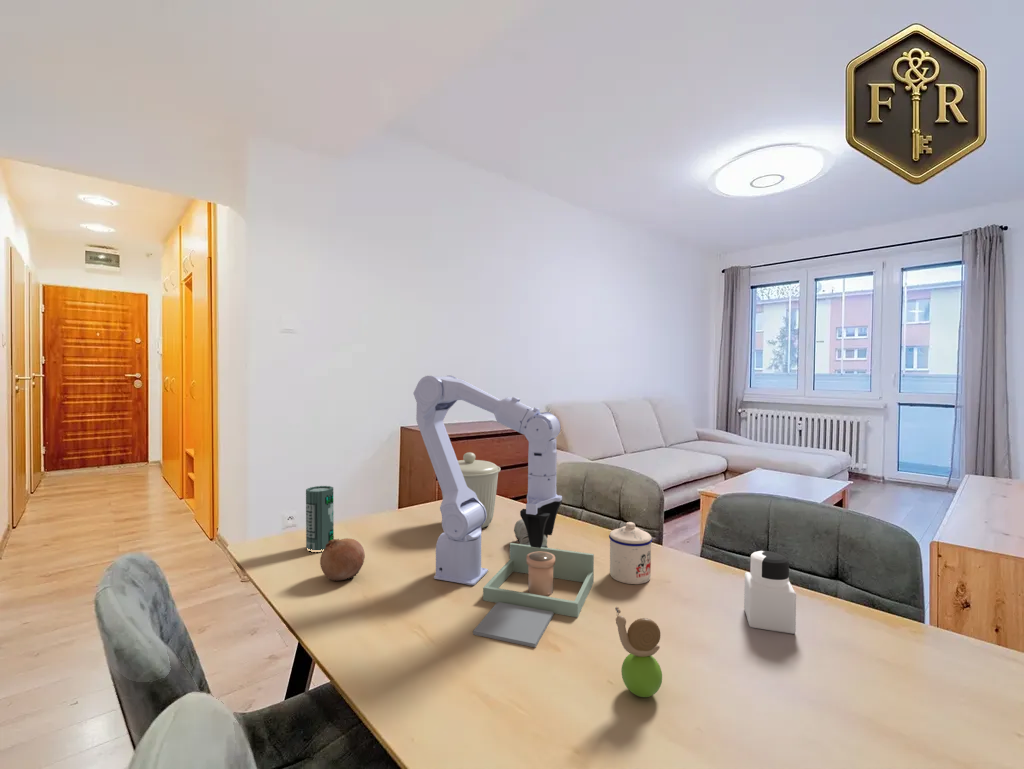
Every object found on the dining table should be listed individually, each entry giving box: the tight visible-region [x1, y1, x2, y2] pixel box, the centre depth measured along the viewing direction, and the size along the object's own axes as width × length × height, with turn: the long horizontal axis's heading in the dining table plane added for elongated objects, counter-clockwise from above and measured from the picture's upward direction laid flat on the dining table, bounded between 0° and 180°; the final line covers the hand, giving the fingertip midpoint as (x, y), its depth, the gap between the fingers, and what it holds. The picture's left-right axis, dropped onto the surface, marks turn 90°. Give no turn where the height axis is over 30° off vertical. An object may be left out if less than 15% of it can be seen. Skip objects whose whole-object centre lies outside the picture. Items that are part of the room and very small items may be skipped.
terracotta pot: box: [527, 551, 555, 597], centre depth 97 cm, size 6×6×7 cm
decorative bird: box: [513, 518, 549, 548], centre depth 118 cm, size 6×17×8 cm, turn 21°
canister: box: [441, 451, 501, 529], centre depth 138 cm, size 18×18×21 cm
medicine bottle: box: [743, 550, 797, 635], centre depth 85 cm, size 7×7×12 cm
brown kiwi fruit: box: [319, 537, 366, 582], centre depth 103 cm, size 9×9×10 cm
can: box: [305, 485, 335, 550], centre depth 120 cm, size 6×6×15 cm
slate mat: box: [472, 602, 555, 648], centre depth 84 cm, size 11×11×1 cm
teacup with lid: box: [608, 521, 653, 585], centre depth 105 cm, size 12×9×12 cm
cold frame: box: [482, 542, 595, 619], centre depth 97 cm, size 19×16×6 cm
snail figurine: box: [615, 606, 663, 698], centre depth 66 cm, size 5×6×12 cm
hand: (541, 540), depth 97 cm, fingers open, 7 cm apart
